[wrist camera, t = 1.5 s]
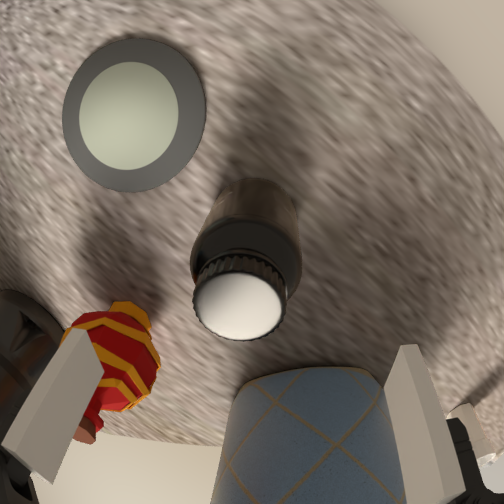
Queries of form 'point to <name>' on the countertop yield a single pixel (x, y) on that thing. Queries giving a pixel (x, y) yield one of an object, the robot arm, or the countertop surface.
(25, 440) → the robot arm
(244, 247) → the supplement bottle
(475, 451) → the cup
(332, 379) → the planter
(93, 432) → the potion bottle
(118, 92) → the plate
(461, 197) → the countertop surface
